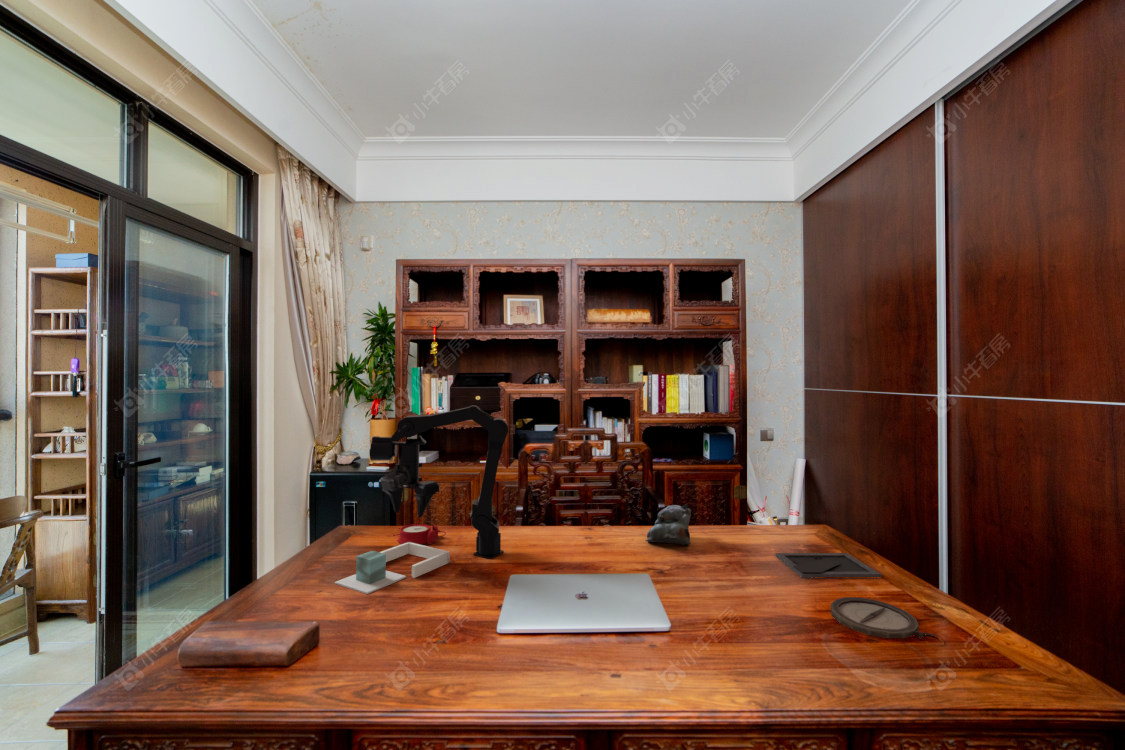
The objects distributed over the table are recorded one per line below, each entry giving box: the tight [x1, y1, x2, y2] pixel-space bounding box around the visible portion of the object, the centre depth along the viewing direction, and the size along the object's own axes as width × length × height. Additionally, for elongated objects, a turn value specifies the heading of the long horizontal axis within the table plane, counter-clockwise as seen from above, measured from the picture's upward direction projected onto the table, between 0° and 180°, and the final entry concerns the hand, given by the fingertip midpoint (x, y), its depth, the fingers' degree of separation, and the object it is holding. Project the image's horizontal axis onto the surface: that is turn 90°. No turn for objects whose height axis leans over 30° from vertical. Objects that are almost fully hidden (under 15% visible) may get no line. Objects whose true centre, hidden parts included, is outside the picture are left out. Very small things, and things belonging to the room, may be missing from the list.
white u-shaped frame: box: [379, 542, 451, 579], centre depth 144 cm, size 16×13×3 cm
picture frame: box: [775, 552, 882, 579], centre depth 145 cm, size 16×2×21 cm
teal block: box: [355, 550, 387, 584], centre depth 133 cm, size 5×5×6 cm
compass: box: [830, 596, 939, 639], centre depth 112 cm, size 20×16×2 cm
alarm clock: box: [393, 523, 447, 545], centre depth 165 cm, size 10×6×15 cm
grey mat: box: [334, 569, 407, 595], centre depth 133 cm, size 12×12×1 cm
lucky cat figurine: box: [644, 503, 692, 547], centre depth 165 cm, size 15×12×14 cm
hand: (408, 514), depth 150 cm, fingers open, 9 cm apart
